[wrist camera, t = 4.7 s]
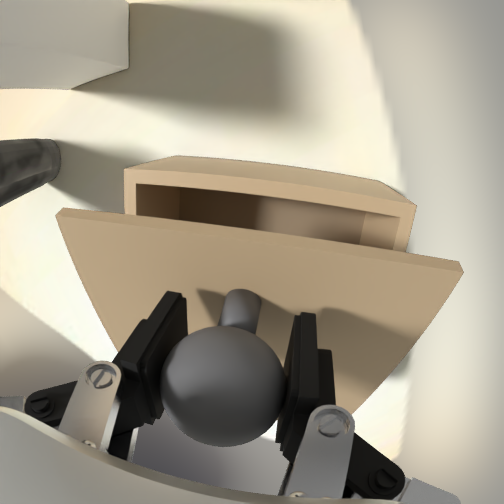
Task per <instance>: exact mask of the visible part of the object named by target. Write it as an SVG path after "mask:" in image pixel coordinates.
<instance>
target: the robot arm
mask: <svg viewBox="0 0 504 504" xmlns="http://www.w3.org/2000/svg"><path fill="white" fill-rule="evenodd" d="M187 335H188V321H187V299H186V298H185V297H183V296H182V293H179V292H173V291H167V292H166V293H165V294H164V296H163V297H162V298H161V300H160V301H159V303H158V304H157V306H156V307H155V308H154V310H153V311H152V313H151V314H150V316H149V317H148V319H142V320H141V321H140V322H139V323H138V325H137V326H136V328H135V329H134V330H133V332H132V333H131V335H130V336H129V338H128V339H127V341H126V342H125V344H124V345H123V346H122V348H121V349H120V351H119V352H118V354H117V355H116V357H115V358H114V360H113V361H112V362H108V361H96V362H93V363H91V364H89V365H88V366H86V367H85V368H84V370H83V371H82V373H81V375H80V378H79V380H78V381H74V382H70V383H67V384H63V385H59V386H55V387H52V388H48V389H44V390H40V391H37V392H34V393H32V394H31V395H30V396H29V397H28V398H27V399H26V398H25V397H24V396H8V397H7V396H6V397H0V504H461V503H460V500H459V499H458V497H457V496H455V495H453V494H451V493H449V492H446V491H444V490H441V489H439V488H436V487H434V486H432V485H429V484H427V483H424V482H422V481H420V480H418V479H415V478H411V479H408V478H406V477H405V475H404V473H403V471H402V470H401V469H400V468H399V467H398V466H397V465H396V464H395V463H393V462H392V461H391V460H389V459H388V458H387V457H385V456H384V455H383V454H381V453H380V452H379V451H378V450H376V449H375V448H374V447H372V446H371V445H370V444H368V443H367V442H366V441H365V440H363V439H362V438H361V437H360V436H358V435H357V434H356V433H355V432H354V429H355V421H354V419H353V417H352V415H351V414H350V413H349V412H348V411H347V410H345V409H344V408H342V407H339V406H336V397H335V383H334V370H333V359H332V351H331V350H328V349H318V346H317V325H316V314H315V313H307V312H301V313H300V315H295V316H294V321H293V326H292V330H291V335H290V340H289V344H288V349H287V353H286V358H285V362H284V367H283V369H284V373H285V377H286V396H285V402H284V405H283V408H282V411H281V413H280V415H279V417H278V423H277V431H276V440H275V443H281V446H280V451H283V456H284V457H285V458H287V460H289V464H288V467H287V470H286V473H285V476H284V478H283V481H282V485H281V487H280V490H279V492H278V495H277V496H276V495H266V494H258V493H251V492H244V491H238V490H231V489H226V488H221V487H216V486H211V485H206V484H201V483H198V482H193V481H189V480H185V479H181V478H178V477H174V476H171V475H167V474H164V473H160V472H157V471H154V470H151V469H148V468H145V467H142V466H139V465H136V464H133V463H132V458H133V452H134V447H135V442H136V438H137V432H138V427H141V426H143V425H144V423H147V424H151V425H153V423H154V421H155V419H160V417H161V416H162V413H163V411H164V409H165V408H164V406H163V403H162V400H161V395H160V374H161V371H162V367H163V364H164V362H165V360H166V357H167V356H168V354H169V353H170V351H171V350H172V349H173V348H174V346H175V345H176V344H177V343H178V342H180V341H181V340H182V339H183V338H184V337H186V336H187Z"/></svg>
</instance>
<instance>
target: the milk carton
mask: <svg viewBox="0 0 504 504" xmlns="http://www.w3.org/2000/svg"><path fill="white" fill-rule="evenodd" d="M128 24H129V3H128V2H127V1H125V0H0V89H14V88H33V89H62V90H69V89H71V88H74V87H76V86H79V85H81V84H84V83H87V82H89V81H92V80H95V79H98V78H100V77H103V76H106V75H109V74H112V73H115V72H118V71H121V70H125V69H127V68H128V67H129V51H128Z"/></svg>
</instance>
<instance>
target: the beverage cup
mask: <svg viewBox="0 0 504 504" xmlns="http://www.w3.org/2000/svg"><path fill="white" fill-rule="evenodd" d="M60 163H61V157H60V151H59V149H58V146H57V145H56V144H55V142H54V141H52V140H51V139H17V140H2V141H0V207H1V206H3V205H5V204H7V203H9V202H11V201H12V200H14V199H16V198H18V197H20V196H22V195H24V194H26V193H28V192H30V191H32V190H34V189H36V188H38V187H40V186H43V185H44V184H45V183H47V182H49V181H52V180H53V179H54V178H55V177H56V176H57V174H58V172H59V169H60Z"/></svg>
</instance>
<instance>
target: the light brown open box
mask: <svg viewBox="0 0 504 504" xmlns="http://www.w3.org/2000/svg"><path fill="white" fill-rule="evenodd" d="M416 207H417V205H415V204H414V203H412V202H411V201H409V200H408V199H406V198H405V197H403V196H402V195H400V194H399V193H397V192H396V191H394V190H393V189H391V188H389V187H388V186H386V185H385V184H383V183H381V182H380V181H377V180H372V179H367V178H361V177H356V176H350V175H345V174H339V173H333V172H327V171H321V170H314V169H307V168H301V167H293V166H286V165H278V164H270V163H261V162H252V161H242V160H232V159H220V158H208V157H193V156H171V157H167V158H163V159H159V160H155V161H151V162H147V163H143V164H140V165H136V166H132V167H129V168H125V169H124V210H125V214H129V215H138V216H147V217H156V218H164V219H172V220H181V221H189V222H197V223H205V224H213V225H221V226H228V227H236V228H244V229H251V230H259V231H266V232H273V233H280V234H288V235H295V236H302V237H309V238H315V239H322V240H329V241H336V242H342V243H349V244H355V245H362V246H368V247H375V248H381V249H387V250H393V251H400V252H406V248H407V244H408V240H409V237H410V233H411V229H412V224H413V220H414V216H415V212H416Z"/></svg>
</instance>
